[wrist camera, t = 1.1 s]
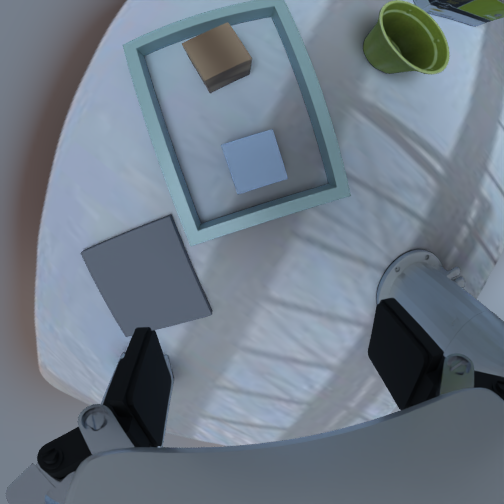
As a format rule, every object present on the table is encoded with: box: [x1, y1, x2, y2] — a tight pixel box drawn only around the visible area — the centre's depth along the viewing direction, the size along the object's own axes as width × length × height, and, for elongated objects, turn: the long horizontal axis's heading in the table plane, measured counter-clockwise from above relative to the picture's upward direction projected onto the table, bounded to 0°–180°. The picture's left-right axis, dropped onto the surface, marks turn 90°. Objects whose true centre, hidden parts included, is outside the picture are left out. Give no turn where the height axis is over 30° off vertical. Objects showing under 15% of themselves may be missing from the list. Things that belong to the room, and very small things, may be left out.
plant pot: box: [363, 0, 449, 74], centre depth 22 cm, size 9×9×9 cm
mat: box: [81, 215, 212, 337], centre depth 35 cm, size 14×14×1 cm
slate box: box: [221, 129, 288, 194], centre depth 28 cm, size 5×5×6 cm
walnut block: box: [182, 22, 252, 93], centre depth 24 cm, size 5×5×6 cm
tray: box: [123, 0, 351, 246], centre depth 27 cm, size 19×25×3 cm
